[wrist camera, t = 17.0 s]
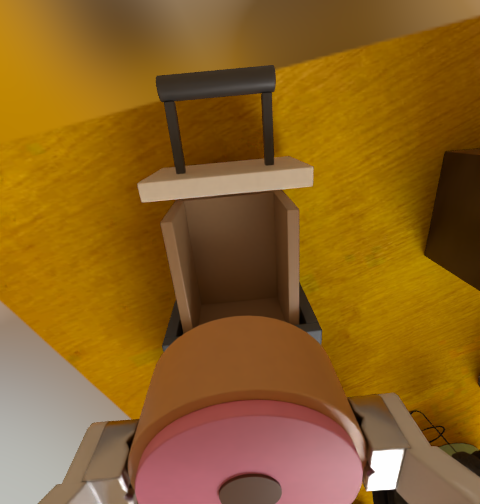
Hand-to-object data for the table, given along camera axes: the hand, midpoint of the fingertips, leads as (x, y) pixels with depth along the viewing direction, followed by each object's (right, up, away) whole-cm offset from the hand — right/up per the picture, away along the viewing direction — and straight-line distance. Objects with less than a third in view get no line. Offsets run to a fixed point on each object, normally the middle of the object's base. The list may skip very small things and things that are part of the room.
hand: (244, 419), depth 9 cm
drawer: (-1, +9, +16) cm, 18 cm away
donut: (0, 0, +1) cm, 1 cm away
